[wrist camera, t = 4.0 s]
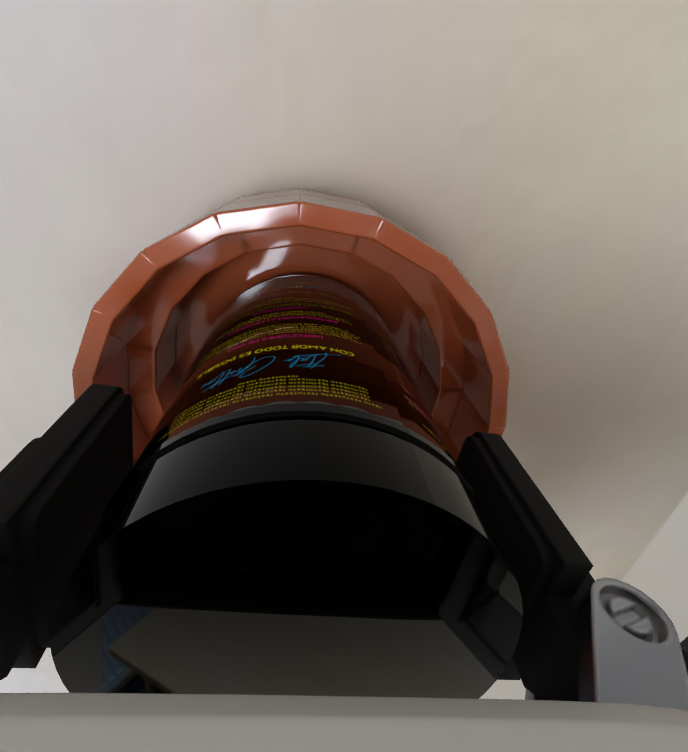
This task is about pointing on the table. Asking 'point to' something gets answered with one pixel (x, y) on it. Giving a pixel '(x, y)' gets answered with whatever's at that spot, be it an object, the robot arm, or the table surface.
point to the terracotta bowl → (283, 258)
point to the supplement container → (292, 526)
